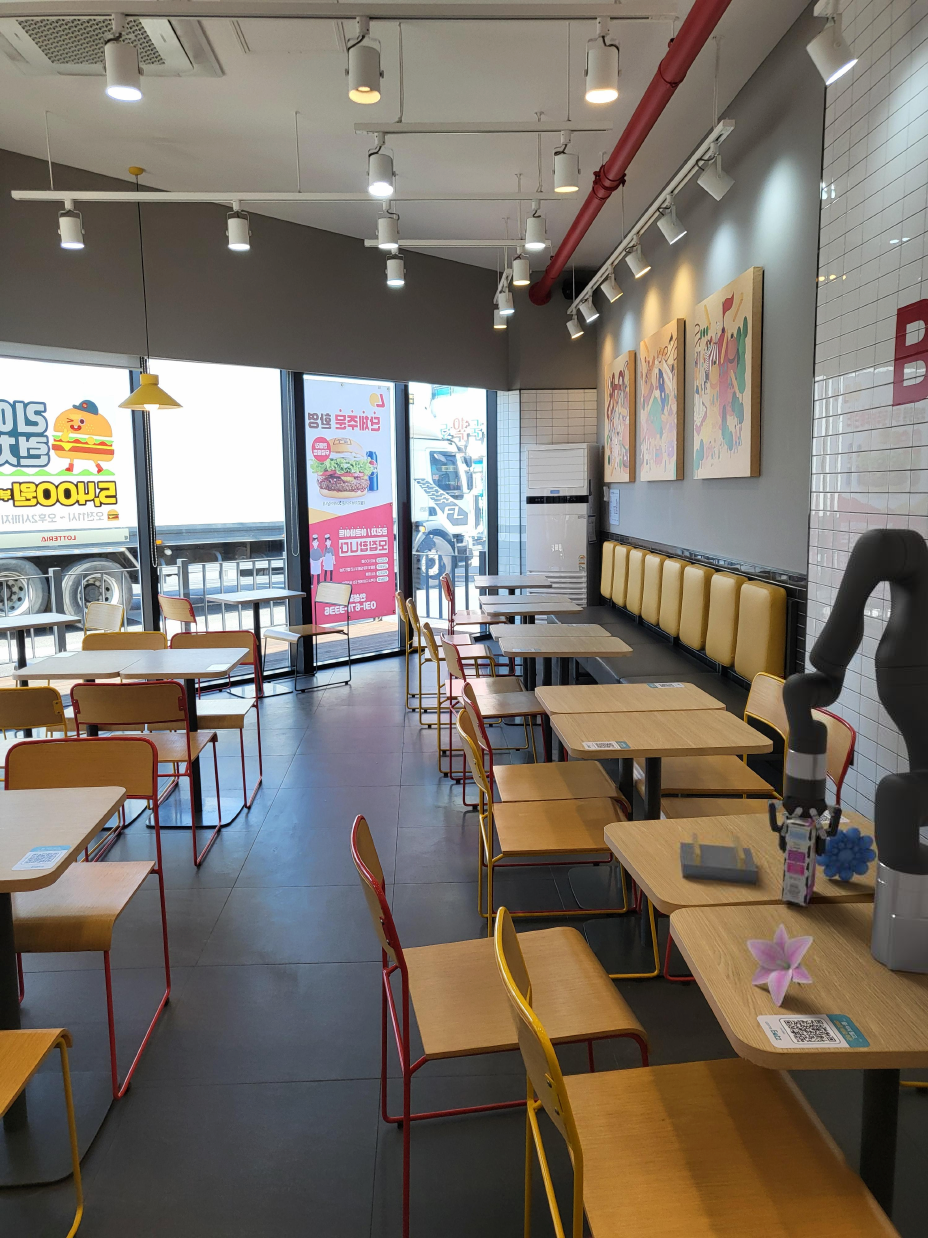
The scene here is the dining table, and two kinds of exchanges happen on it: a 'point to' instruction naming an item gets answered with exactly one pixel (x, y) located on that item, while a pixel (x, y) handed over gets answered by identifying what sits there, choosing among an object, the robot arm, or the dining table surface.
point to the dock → (717, 862)
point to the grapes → (847, 854)
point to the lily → (780, 962)
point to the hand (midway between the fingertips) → (801, 853)
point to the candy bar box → (799, 860)
